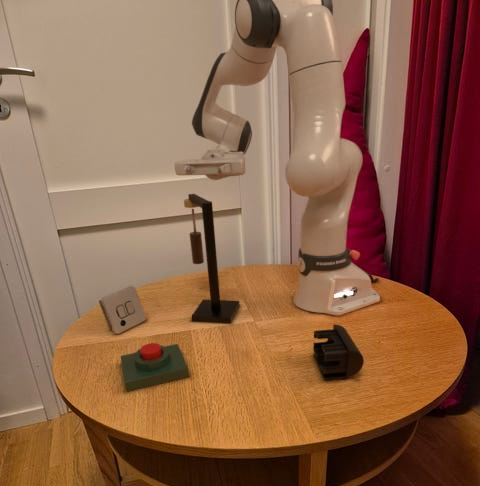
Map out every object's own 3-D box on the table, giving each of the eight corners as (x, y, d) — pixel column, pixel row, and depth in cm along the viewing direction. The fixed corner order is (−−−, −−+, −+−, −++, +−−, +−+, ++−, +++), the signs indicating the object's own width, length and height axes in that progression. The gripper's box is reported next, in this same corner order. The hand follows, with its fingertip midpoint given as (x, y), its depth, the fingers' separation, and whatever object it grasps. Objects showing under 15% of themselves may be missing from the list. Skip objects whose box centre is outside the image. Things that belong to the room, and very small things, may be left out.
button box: (178, 352, 88) (176, 336, 86) (188, 377, 80) (186, 360, 78) (122, 364, 85) (118, 348, 83) (126, 391, 77) (122, 374, 75)
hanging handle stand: (245, 295, 114) (239, 191, 101) (230, 323, 99) (222, 206, 86) (197, 293, 117) (186, 192, 104) (176, 320, 102) (160, 207, 89)
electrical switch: (116, 336, 96) (106, 299, 93) (104, 332, 99) (93, 296, 96) (147, 320, 103) (139, 286, 99) (134, 317, 106) (126, 283, 102)
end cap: (362, 379, 76) (365, 348, 73) (324, 382, 76) (326, 351, 73) (346, 351, 85) (348, 322, 82) (312, 354, 85) (313, 325, 82)
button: (160, 348, 83) (159, 341, 82) (163, 358, 80) (162, 350, 79) (140, 352, 82) (139, 345, 81) (142, 363, 79) (141, 355, 78)
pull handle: (205, 260, 111) (200, 207, 104) (202, 264, 108) (196, 210, 102) (194, 260, 111) (189, 207, 105) (191, 264, 109) (185, 210, 102)
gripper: (182, 153, 123) (165, 159, 111) (248, 151, 118) (239, 157, 106) (184, 175, 125) (168, 183, 114) (249, 174, 121) (240, 182, 109)
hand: (203, 170), depth 110 cm, fingers open, 8 cm apart
